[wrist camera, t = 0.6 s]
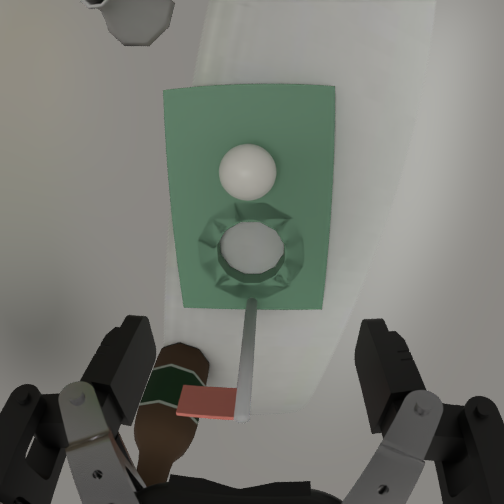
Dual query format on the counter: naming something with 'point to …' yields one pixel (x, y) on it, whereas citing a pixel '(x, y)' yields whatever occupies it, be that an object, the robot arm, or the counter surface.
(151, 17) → the flask
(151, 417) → the beer bottle
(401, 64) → the counter surface
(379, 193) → the counter surface
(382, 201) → the counter surface
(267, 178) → the ball
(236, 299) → the putting board
